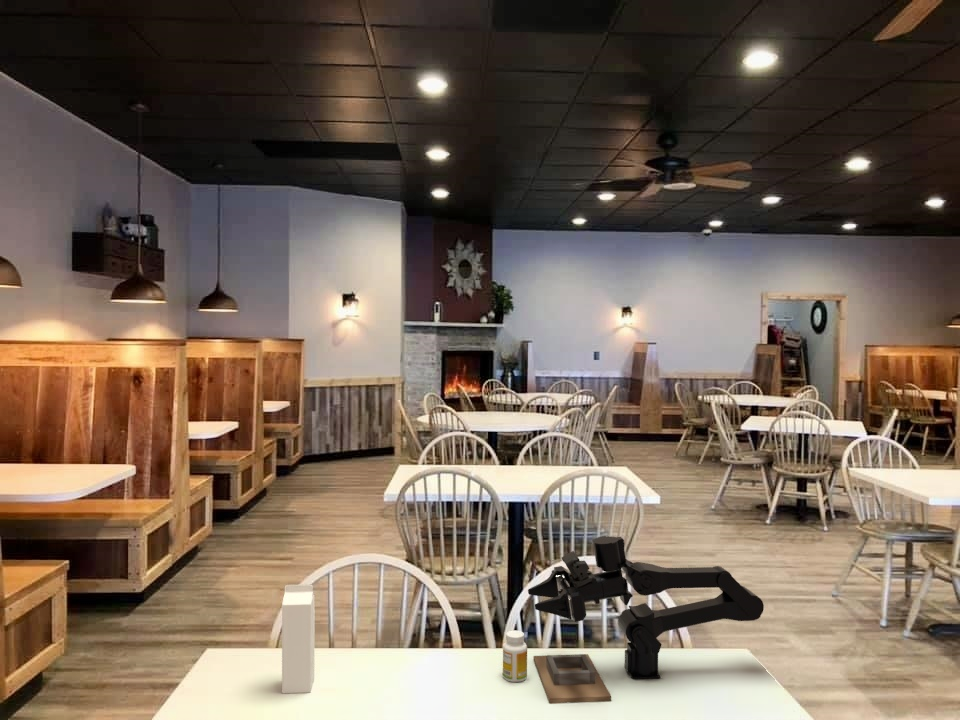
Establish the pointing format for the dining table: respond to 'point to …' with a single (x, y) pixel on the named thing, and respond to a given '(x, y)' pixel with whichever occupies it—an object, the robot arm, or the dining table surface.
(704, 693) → the dining table surface
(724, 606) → the robot arm
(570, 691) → the can holder
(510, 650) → the supplement bottle
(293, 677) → the milk
